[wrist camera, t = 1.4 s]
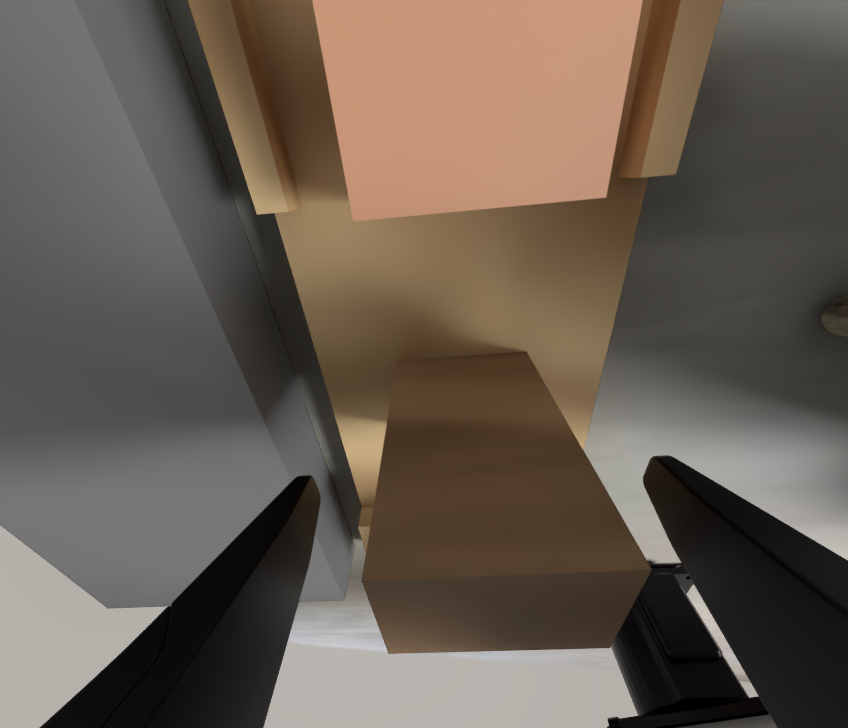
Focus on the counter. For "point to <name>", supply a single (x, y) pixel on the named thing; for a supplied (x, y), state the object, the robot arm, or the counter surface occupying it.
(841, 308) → the tabletop clock
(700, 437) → the counter surface
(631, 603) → the tray
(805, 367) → the counter surface
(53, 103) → the grey flat slab
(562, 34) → the block
